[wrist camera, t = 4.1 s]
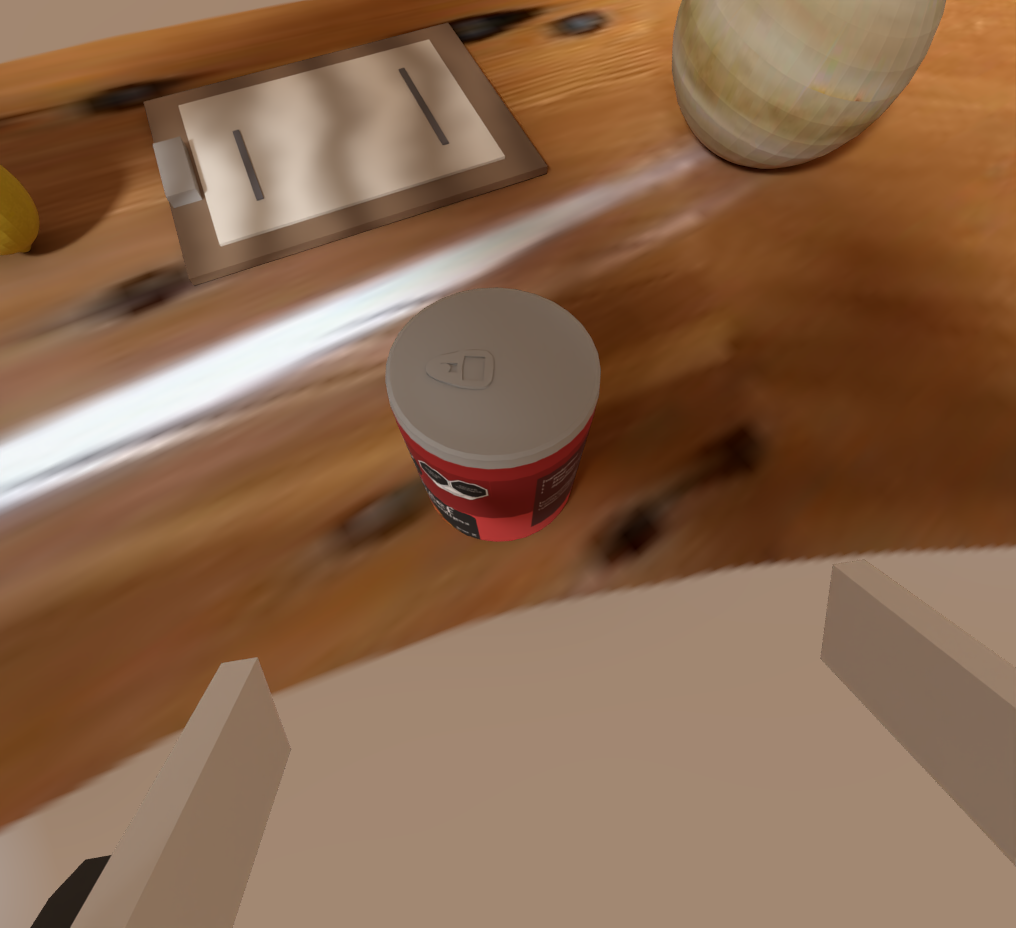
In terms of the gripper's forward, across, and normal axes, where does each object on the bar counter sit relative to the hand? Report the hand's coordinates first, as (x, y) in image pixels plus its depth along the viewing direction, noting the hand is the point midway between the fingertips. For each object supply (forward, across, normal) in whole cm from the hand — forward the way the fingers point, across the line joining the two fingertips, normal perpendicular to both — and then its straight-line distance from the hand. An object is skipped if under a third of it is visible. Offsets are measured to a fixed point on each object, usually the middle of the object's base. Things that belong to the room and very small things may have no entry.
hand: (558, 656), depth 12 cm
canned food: (+18, 0, -3) cm, 18 cm away
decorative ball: (+34, +22, +14) cm, 44 cm away
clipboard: (+38, -8, +18) cm, 43 cm away
